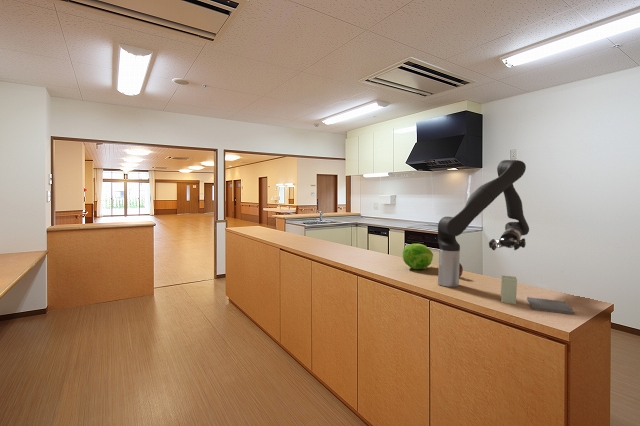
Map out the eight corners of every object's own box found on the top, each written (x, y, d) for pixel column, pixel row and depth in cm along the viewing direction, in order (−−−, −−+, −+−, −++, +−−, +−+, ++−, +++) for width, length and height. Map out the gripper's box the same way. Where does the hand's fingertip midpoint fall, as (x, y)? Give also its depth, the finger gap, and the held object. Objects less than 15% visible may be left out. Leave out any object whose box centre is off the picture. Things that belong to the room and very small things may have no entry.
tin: (438, 272, 184) (439, 258, 183) (443, 272, 185) (443, 257, 184) (458, 279, 169) (459, 263, 169) (463, 278, 171) (464, 263, 170)
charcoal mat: (532, 309, 125) (532, 306, 125) (527, 299, 137) (527, 297, 137) (573, 314, 120) (574, 311, 120) (564, 303, 132) (564, 301, 132)
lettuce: (438, 272, 193) (443, 247, 192) (416, 273, 182) (421, 247, 180) (415, 264, 207) (420, 241, 205) (394, 265, 195) (398, 240, 194)
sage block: (501, 302, 133) (502, 278, 133) (500, 298, 138) (501, 275, 137) (516, 304, 131) (517, 279, 130) (514, 300, 136) (515, 276, 135)
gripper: (493, 230, 160) (485, 240, 148) (527, 229, 151) (521, 239, 138) (495, 245, 161) (487, 256, 149) (529, 245, 152) (523, 256, 139)
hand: (504, 248), depth 144 cm, fingers open, 8 cm apart
